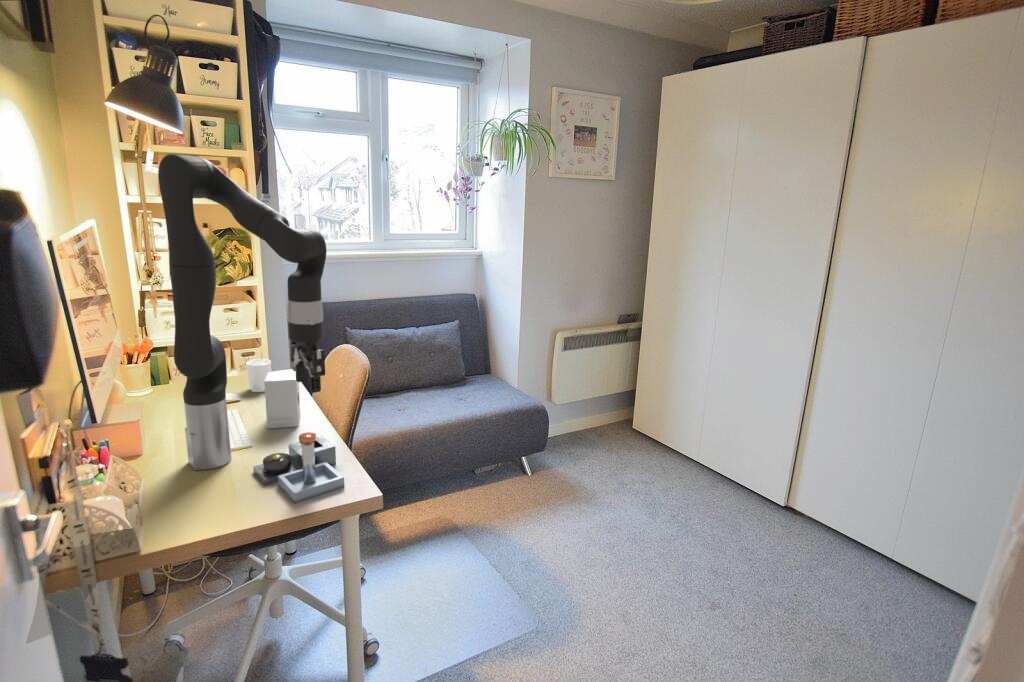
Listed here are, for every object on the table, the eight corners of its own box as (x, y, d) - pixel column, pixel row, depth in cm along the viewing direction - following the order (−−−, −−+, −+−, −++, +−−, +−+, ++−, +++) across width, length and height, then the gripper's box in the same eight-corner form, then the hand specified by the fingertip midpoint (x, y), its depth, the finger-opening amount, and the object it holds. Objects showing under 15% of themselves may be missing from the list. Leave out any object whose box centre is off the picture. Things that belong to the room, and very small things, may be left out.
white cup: (268, 383, 199) (266, 357, 196) (276, 390, 193) (274, 362, 191) (244, 388, 194) (242, 361, 191) (252, 394, 188) (250, 366, 186)
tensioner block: (265, 485, 132) (263, 466, 131) (253, 472, 138) (252, 454, 136) (336, 463, 144) (335, 446, 143) (322, 452, 150) (322, 435, 148)
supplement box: (299, 427, 165) (296, 379, 161) (266, 429, 162) (263, 381, 158) (301, 415, 173) (298, 370, 169) (270, 417, 170) (267, 371, 167)
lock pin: (305, 487, 131) (302, 440, 128) (298, 481, 134) (296, 434, 130) (320, 482, 133) (318, 436, 130) (314, 476, 136) (311, 431, 133)
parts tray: (295, 503, 125) (294, 493, 125) (278, 485, 132) (278, 475, 132) (344, 486, 133) (344, 477, 132) (326, 470, 140) (326, 461, 140)
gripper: (277, 314, 127) (280, 380, 131) (301, 327, 117) (304, 398, 121) (309, 311, 132) (311, 375, 136) (335, 323, 122) (336, 392, 126)
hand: (308, 386), depth 128 cm, fingers open, 8 cm apart
